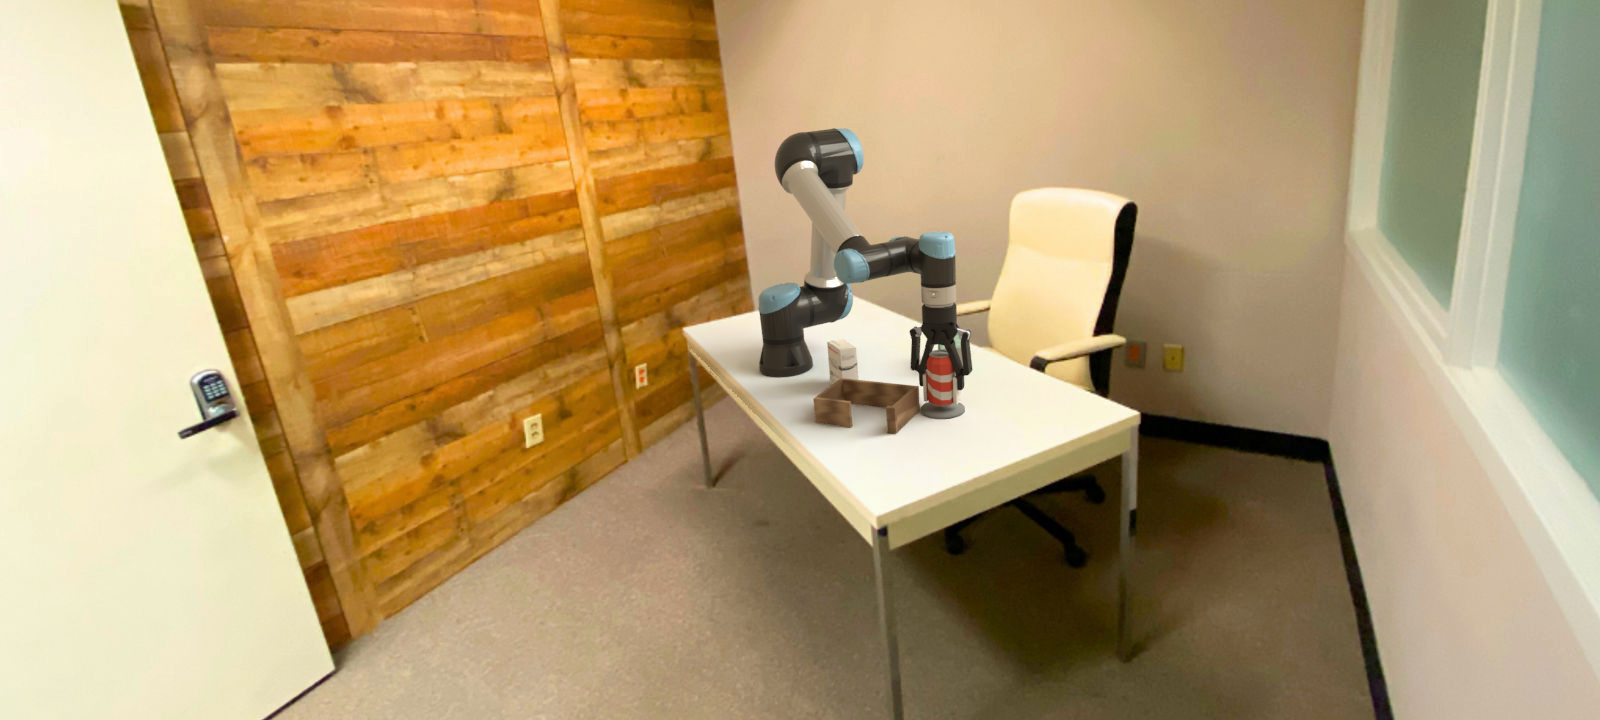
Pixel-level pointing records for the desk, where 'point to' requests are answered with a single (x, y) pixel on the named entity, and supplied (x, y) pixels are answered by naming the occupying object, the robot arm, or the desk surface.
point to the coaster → (942, 411)
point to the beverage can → (940, 378)
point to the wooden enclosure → (867, 402)
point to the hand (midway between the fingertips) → (942, 400)
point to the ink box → (842, 360)
